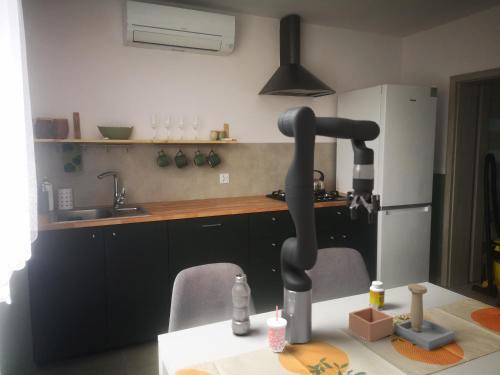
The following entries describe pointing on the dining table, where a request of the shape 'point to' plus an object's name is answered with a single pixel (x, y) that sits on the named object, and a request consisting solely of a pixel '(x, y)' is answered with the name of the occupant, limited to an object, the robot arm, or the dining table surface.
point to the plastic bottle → (240, 305)
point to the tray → (425, 334)
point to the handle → (417, 306)
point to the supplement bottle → (377, 295)
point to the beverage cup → (276, 332)
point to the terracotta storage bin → (370, 323)
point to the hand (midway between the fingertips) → (362, 221)
